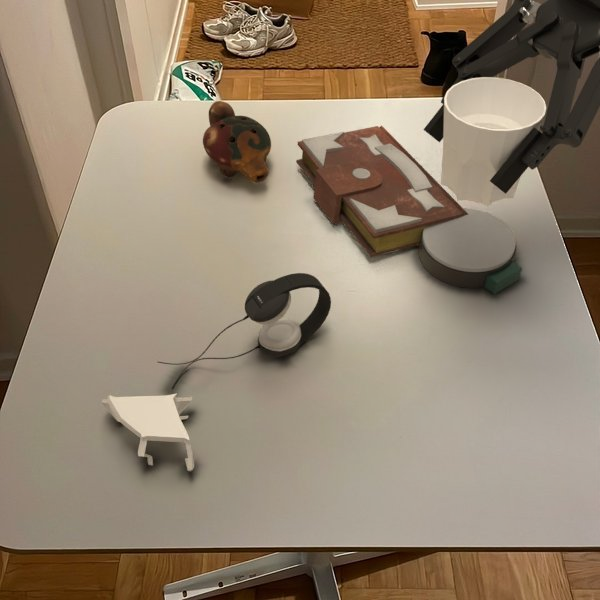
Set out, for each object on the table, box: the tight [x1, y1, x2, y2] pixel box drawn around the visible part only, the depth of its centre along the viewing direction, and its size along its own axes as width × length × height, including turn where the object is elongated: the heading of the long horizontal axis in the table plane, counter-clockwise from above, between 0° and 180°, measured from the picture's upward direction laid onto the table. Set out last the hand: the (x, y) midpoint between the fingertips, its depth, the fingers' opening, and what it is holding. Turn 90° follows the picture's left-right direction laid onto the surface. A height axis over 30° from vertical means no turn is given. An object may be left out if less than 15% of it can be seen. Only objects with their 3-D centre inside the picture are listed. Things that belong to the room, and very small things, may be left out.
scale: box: [418, 208, 523, 295], centre depth 94 cm, size 13×12×3 cm
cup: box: [440, 76, 547, 207], centre depth 78 cm, size 10×10×10 cm
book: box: [295, 125, 468, 258], centre depth 102 cm, size 23×16×5 cm
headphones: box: [157, 272, 332, 389], centre depth 81 cm, size 10×4×20 cm
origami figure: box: [101, 393, 195, 472], centre depth 75 cm, size 12×8×5 cm
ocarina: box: [202, 100, 272, 184], centre depth 107 cm, size 10×15×8 cm, turn 34°
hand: (463, 160), depth 77 cm, fingers closed on cup, 10 cm apart
